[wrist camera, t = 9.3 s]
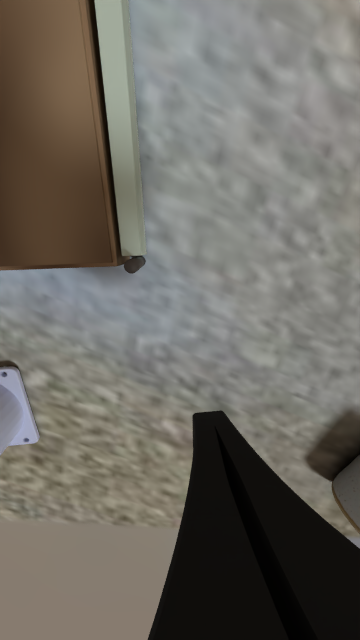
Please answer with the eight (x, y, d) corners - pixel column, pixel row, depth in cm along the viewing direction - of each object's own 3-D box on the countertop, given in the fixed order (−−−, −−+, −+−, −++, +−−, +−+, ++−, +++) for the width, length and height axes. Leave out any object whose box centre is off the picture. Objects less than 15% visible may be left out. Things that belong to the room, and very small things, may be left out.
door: (160, 253, 15) (160, 254, 11) (132, 254, 15) (122, 256, 11) (145, -26, 11) (136, -205, 7) (107, -28, 11) (71, -215, 6)
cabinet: (5, 270, 15) (-78, 281, 10) (-86, -46, 10) (-344, -357, 5) (145, 265, 16) (138, 273, 11) (122, -32, 11) (87, -288, 6)
